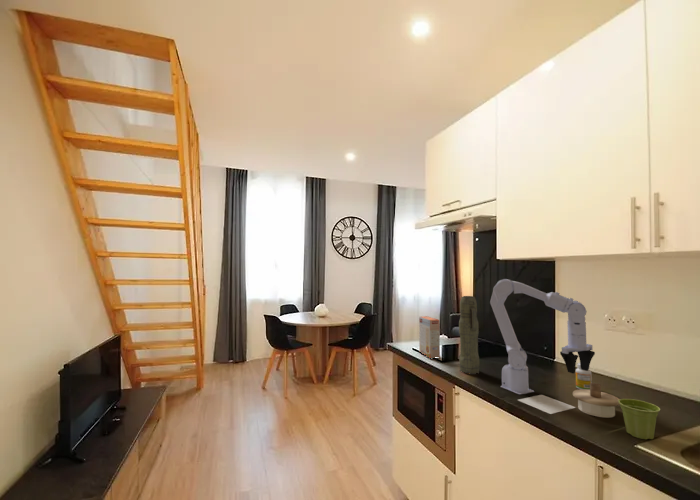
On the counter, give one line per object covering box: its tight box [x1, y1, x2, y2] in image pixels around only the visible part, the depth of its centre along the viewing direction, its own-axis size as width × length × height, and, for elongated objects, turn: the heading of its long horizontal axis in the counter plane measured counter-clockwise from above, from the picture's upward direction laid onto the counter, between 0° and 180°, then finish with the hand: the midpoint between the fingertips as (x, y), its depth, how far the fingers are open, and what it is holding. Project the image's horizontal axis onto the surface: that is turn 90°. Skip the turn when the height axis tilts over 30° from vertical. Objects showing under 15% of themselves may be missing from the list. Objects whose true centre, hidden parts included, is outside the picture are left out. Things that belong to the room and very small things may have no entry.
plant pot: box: [618, 398, 661, 440], centre depth 100 cm, size 9×9×9 cm
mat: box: [517, 394, 577, 415], centre depth 122 cm, size 13×13×1 cm
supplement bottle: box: [575, 362, 593, 390], centre depth 138 cm, size 5×5×10 cm
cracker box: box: [418, 315, 441, 359], centre depth 189 cm, size 14×6×21 cm, turn 12°
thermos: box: [458, 295, 480, 375], centre depth 161 cm, size 9×12×35 cm
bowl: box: [577, 399, 616, 419], centre depth 116 cm, size 10×10×4 cm
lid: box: [572, 382, 620, 407], centre depth 116 cm, size 13×13×5 cm
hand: (578, 371), depth 126 cm, fingers open, 7 cm apart
